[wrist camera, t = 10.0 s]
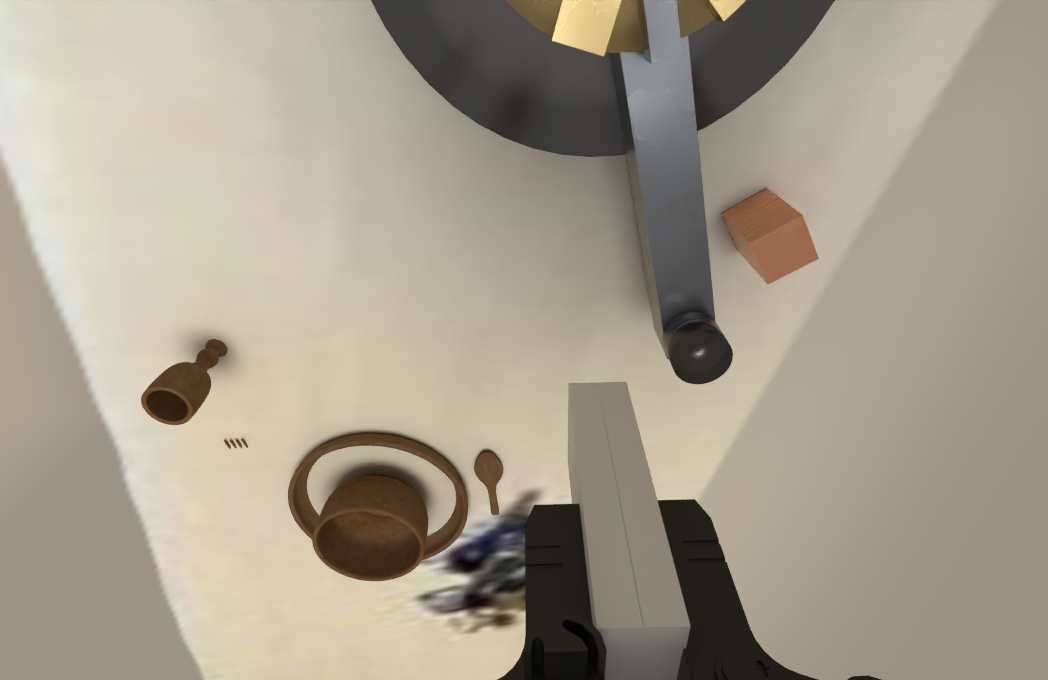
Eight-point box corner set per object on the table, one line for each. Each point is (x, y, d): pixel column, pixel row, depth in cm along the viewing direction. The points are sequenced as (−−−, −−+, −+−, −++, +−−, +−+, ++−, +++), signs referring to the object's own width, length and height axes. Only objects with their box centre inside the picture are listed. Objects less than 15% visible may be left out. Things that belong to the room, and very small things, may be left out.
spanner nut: (410, -294, 18) (375, -392, 13) (767, -431, 16) (862, -594, 12) (574, 348, 30) (585, 408, 26) (783, 300, 29) (831, 356, 24)
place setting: (282, 551, 42) (251, 626, 37) (178, 324, 32) (115, 385, 27) (512, 538, 42) (512, 612, 37) (484, 303, 31) (478, 362, 26)
